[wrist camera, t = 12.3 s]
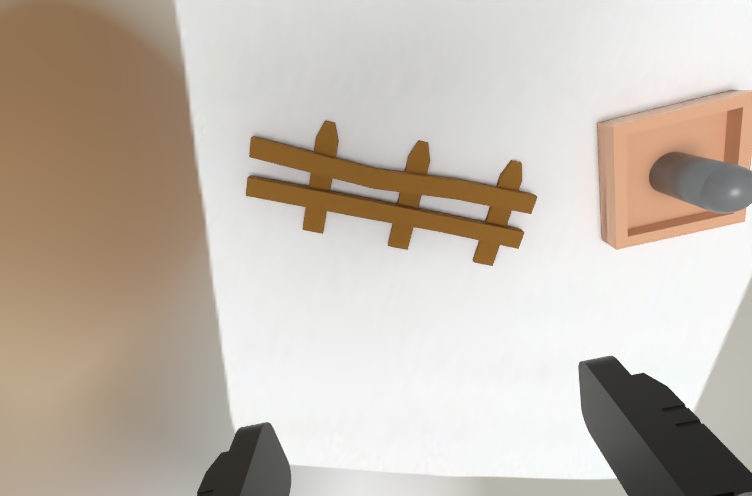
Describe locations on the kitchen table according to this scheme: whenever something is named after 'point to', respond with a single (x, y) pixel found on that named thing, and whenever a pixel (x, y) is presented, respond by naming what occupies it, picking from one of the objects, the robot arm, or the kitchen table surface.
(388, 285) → the kitchen table surface
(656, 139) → the dish
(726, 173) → the plug
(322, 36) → the kitchen table surface
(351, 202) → the decorative fence
